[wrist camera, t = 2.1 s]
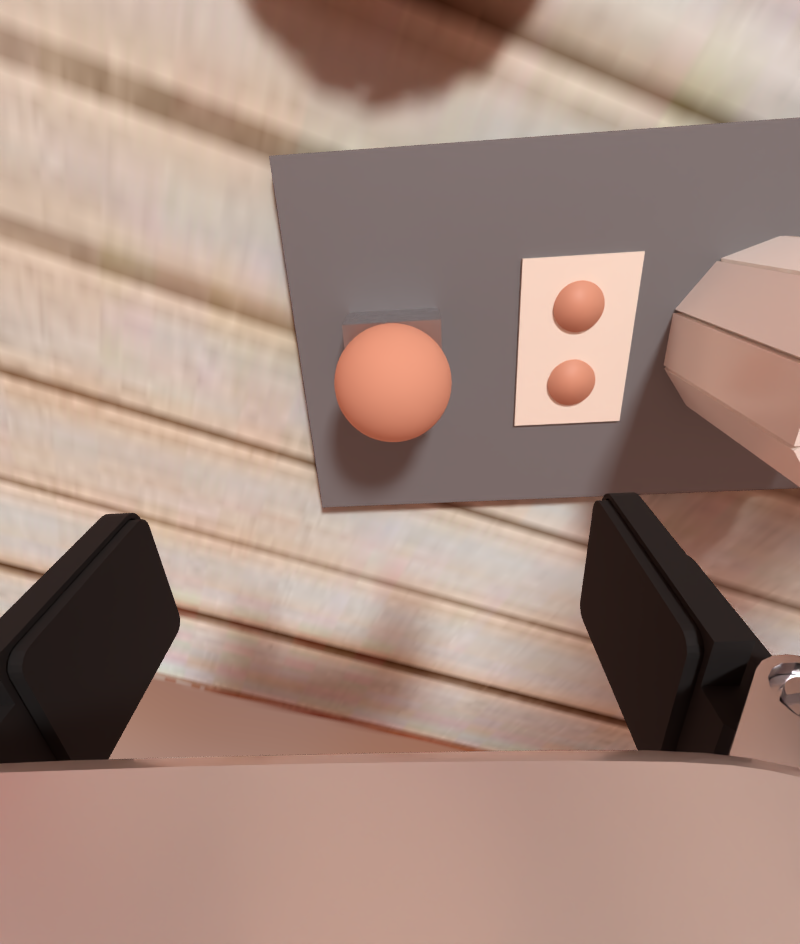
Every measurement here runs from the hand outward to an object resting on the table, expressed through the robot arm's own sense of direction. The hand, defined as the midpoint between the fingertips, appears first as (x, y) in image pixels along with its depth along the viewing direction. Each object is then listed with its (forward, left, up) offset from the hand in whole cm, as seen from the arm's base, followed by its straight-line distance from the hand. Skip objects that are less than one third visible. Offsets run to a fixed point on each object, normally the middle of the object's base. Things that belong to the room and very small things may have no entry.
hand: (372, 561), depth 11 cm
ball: (0, 0, -12) cm, 12 cm away
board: (-9, 0, -19) cm, 21 cm away
